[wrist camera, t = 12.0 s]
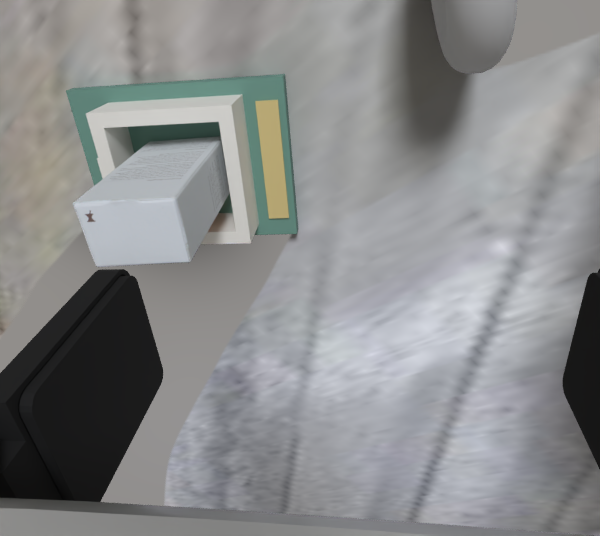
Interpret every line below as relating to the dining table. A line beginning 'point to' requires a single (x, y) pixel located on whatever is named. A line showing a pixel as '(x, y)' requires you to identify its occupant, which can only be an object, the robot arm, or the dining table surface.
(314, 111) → the dining table surface
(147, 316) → the robot arm
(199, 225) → the skincare box
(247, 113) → the board
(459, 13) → the donut
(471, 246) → the dining table surface
